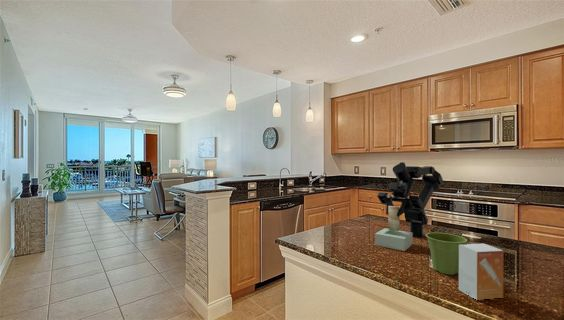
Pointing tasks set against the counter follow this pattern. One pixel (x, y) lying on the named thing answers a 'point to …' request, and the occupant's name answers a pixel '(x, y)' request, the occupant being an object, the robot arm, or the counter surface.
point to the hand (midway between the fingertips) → (392, 215)
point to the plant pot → (445, 251)
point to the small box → (481, 271)
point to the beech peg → (393, 218)
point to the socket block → (394, 239)
